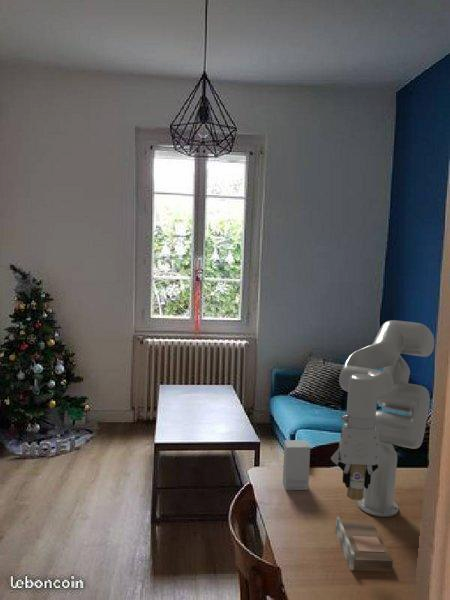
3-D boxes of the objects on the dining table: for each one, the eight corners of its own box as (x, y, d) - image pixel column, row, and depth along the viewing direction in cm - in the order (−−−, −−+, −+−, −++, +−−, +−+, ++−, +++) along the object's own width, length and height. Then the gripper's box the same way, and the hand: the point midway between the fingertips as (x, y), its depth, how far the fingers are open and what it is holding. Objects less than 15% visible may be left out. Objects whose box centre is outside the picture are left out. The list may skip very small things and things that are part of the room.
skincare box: (305, 482, 182) (307, 439, 180) (308, 491, 175) (311, 447, 173) (281, 481, 181) (284, 439, 179) (284, 490, 175) (286, 446, 173)
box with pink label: (335, 531, 151) (336, 516, 151) (372, 532, 151) (373, 518, 151) (350, 570, 133) (351, 553, 133) (391, 571, 134) (393, 555, 133)
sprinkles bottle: (349, 501, 138) (352, 453, 136) (344, 492, 142) (347, 446, 141) (366, 501, 138) (369, 453, 136) (360, 492, 143) (364, 446, 141)
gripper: (331, 424, 134) (326, 491, 136) (396, 427, 133) (391, 494, 136) (326, 414, 141) (322, 477, 144) (388, 417, 141) (383, 480, 143)
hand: (356, 485), depth 140 cm, fingers closed on sprinkles bottle, 4 cm apart
